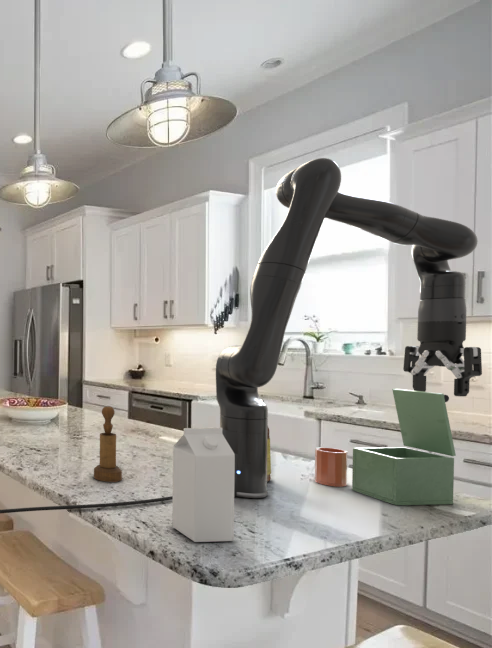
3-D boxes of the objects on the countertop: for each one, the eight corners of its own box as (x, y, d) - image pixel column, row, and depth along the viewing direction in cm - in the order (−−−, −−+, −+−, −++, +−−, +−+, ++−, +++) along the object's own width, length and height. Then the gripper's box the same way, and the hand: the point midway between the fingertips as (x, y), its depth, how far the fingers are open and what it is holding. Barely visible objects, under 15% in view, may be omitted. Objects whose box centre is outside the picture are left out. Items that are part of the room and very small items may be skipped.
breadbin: (396, 505, 104) (397, 458, 104) (351, 490, 115) (352, 447, 115) (453, 504, 105) (454, 457, 105) (404, 489, 116) (404, 446, 115)
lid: (440, 394, 104) (461, 389, 104) (392, 389, 115) (411, 384, 115) (452, 456, 105) (473, 451, 105) (403, 445, 115) (422, 440, 115)
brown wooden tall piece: (95, 481, 122) (96, 407, 122) (92, 474, 129) (92, 404, 128) (124, 482, 121) (124, 408, 121) (119, 475, 127) (119, 405, 127)
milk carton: (171, 527, 92) (172, 424, 92) (208, 526, 93) (209, 424, 92) (194, 543, 85) (195, 432, 85) (234, 541, 86) (235, 431, 85)
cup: (329, 487, 117) (329, 453, 117) (308, 479, 123) (309, 447, 123) (353, 486, 118) (354, 452, 117) (331, 479, 124) (332, 447, 124)
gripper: (394, 321, 116) (392, 390, 117) (460, 318, 102) (458, 397, 103) (424, 321, 117) (422, 390, 117) (495, 318, 103) (492, 397, 103)
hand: (439, 393), depth 110 cm, fingers open, 8 cm apart
